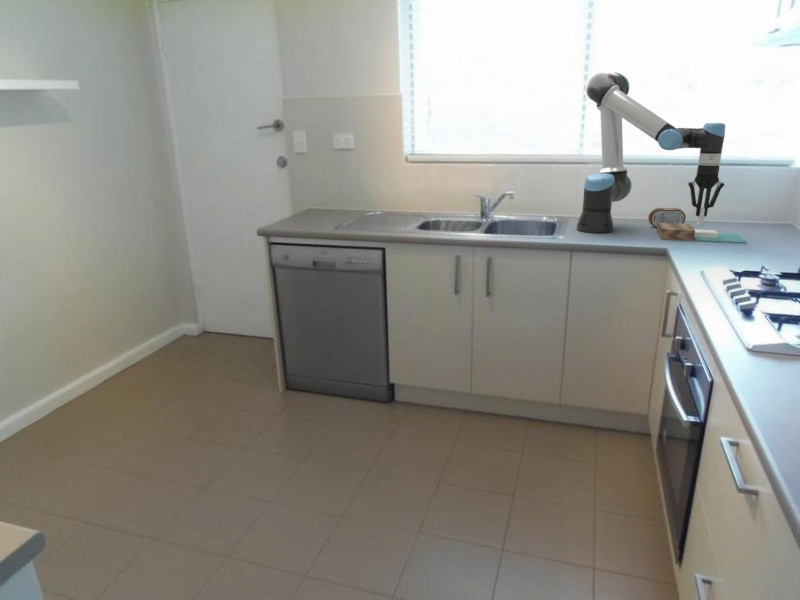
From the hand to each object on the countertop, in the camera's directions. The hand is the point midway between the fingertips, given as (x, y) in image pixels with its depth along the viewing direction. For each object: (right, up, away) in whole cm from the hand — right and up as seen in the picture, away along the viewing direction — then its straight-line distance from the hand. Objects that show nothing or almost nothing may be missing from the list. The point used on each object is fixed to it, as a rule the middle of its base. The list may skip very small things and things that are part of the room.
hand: (699, 224), depth 230 cm
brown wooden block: (-8, -4, +4) cm, 10 cm away
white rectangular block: (+2, -5, +1) cm, 5 cm away
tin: (-4, +1, +22) cm, 22 cm away
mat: (+7, -6, 0) cm, 9 cm away
